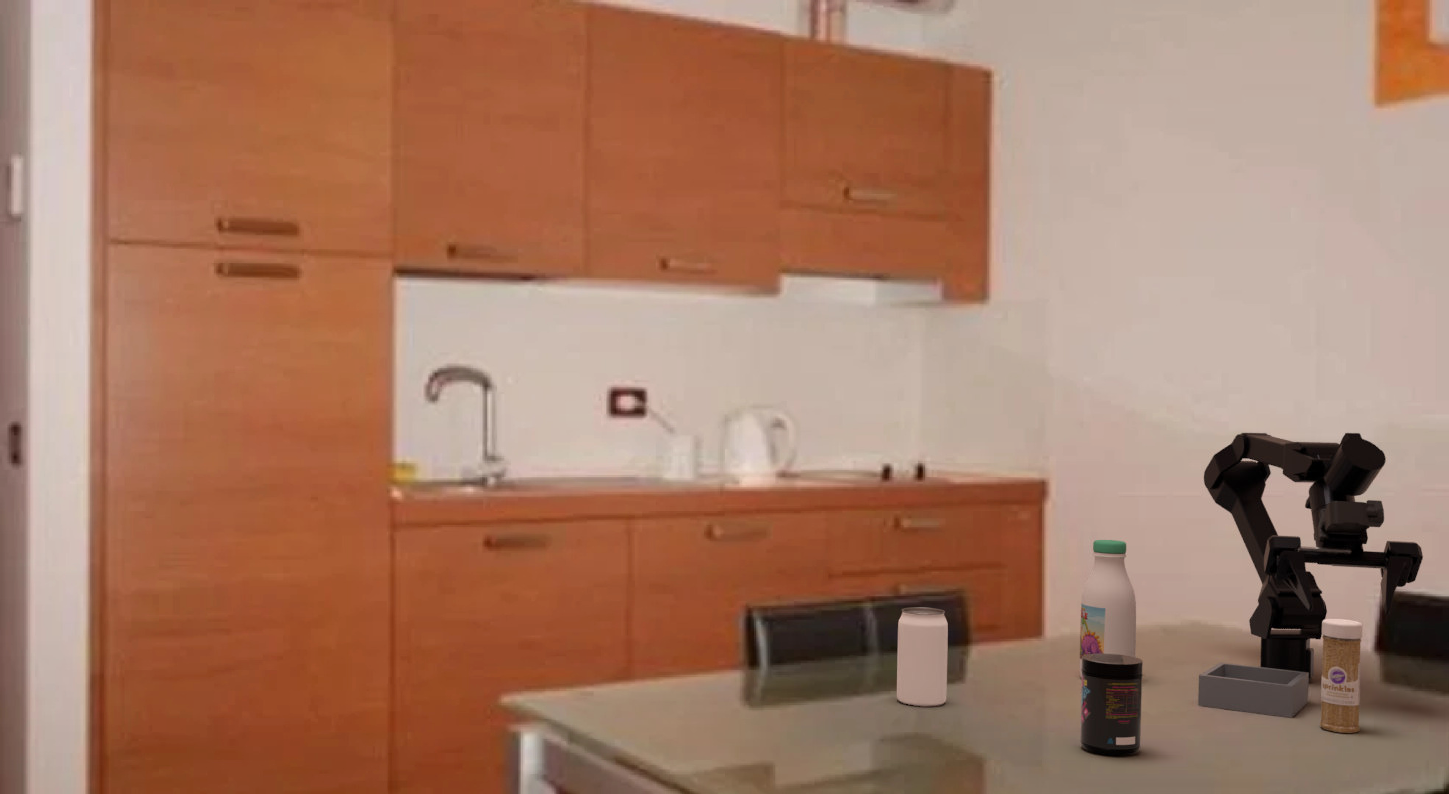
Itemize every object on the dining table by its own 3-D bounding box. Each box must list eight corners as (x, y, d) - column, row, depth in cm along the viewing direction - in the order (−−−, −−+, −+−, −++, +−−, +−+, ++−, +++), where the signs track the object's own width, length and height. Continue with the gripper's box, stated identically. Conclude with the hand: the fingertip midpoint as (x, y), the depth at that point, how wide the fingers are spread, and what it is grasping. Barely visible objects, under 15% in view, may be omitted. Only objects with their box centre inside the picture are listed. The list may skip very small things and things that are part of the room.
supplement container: (1114, 741, 161) (1116, 652, 161) (1153, 755, 155) (1155, 662, 155) (1067, 745, 159) (1069, 655, 159) (1105, 760, 153) (1107, 666, 153)
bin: (1198, 705, 182) (1198, 675, 182) (1219, 691, 192) (1219, 662, 192) (1291, 717, 176) (1292, 686, 176) (1308, 702, 186) (1308, 672, 186)
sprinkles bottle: (1321, 731, 168) (1323, 621, 168) (1318, 724, 173) (1320, 616, 173) (1362, 735, 167) (1364, 624, 167) (1358, 727, 171) (1360, 619, 171)
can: (945, 709, 177) (947, 615, 177) (894, 705, 178) (896, 612, 178) (947, 698, 183) (949, 608, 183) (898, 695, 184) (900, 605, 184)
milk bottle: (1129, 675, 202) (1131, 539, 202) (1139, 686, 194) (1142, 544, 194) (1075, 673, 203) (1078, 537, 203) (1084, 683, 195) (1086, 542, 195)
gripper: (1269, 475, 184) (1280, 568, 174) (1421, 481, 180) (1442, 577, 169) (1259, 527, 192) (1268, 620, 181) (1404, 534, 188) (1423, 629, 177)
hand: (1349, 610), depth 177 cm, fingers open, 9 cm apart
